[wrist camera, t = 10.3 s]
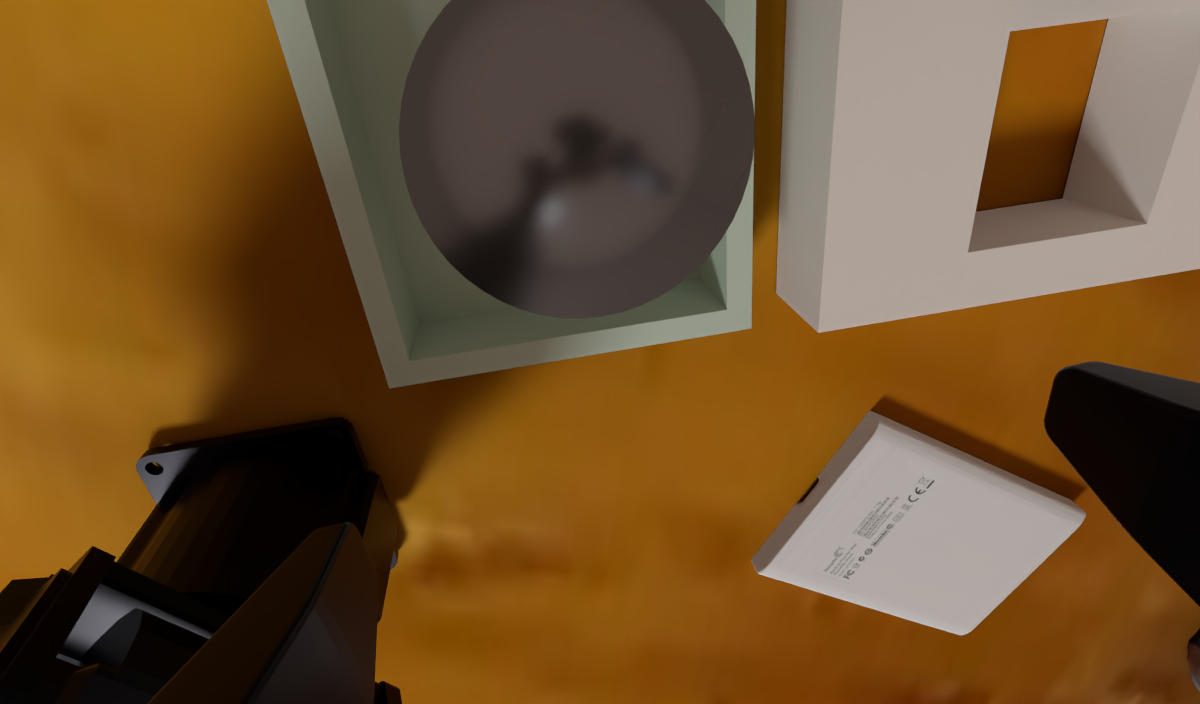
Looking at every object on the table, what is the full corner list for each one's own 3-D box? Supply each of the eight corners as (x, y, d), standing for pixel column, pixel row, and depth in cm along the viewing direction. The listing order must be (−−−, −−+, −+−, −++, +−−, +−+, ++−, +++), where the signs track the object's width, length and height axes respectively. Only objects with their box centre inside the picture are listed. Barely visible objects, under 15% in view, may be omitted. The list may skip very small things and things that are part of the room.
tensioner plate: (776, 293, 20) (862, 374, 16) (797, -290, 14) (958, -458, 9) (1122, 237, 21) (1301, 297, 17) (1299, -329, 15) (1683, -499, 10)
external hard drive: (941, 611, 31) (745, 550, 27) (1061, 491, 28) (862, 401, 24) (963, 639, 29) (759, 580, 25) (1091, 516, 27) (885, 425, 22)
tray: (403, 339, 19) (389, 388, 16) (243, -214, 13) (180, -276, 10) (717, 288, 20) (751, 328, 17) (709, -253, 14) (761, -319, 11)
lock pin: (469, 180, 17) (444, 341, 8) (436, 11, 15) (352, -36, 6) (616, 161, 17) (752, 292, 8) (601, -7, 15) (758, -76, 6)
